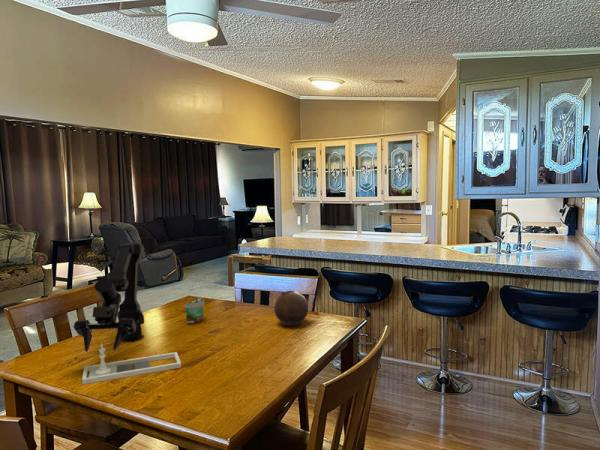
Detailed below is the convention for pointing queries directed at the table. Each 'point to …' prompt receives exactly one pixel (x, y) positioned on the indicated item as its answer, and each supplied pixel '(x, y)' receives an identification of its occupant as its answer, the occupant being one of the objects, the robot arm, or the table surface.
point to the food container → (194, 311)
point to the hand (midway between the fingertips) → (100, 350)
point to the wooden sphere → (291, 308)
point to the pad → (92, 372)
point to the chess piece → (102, 364)
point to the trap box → (126, 367)
